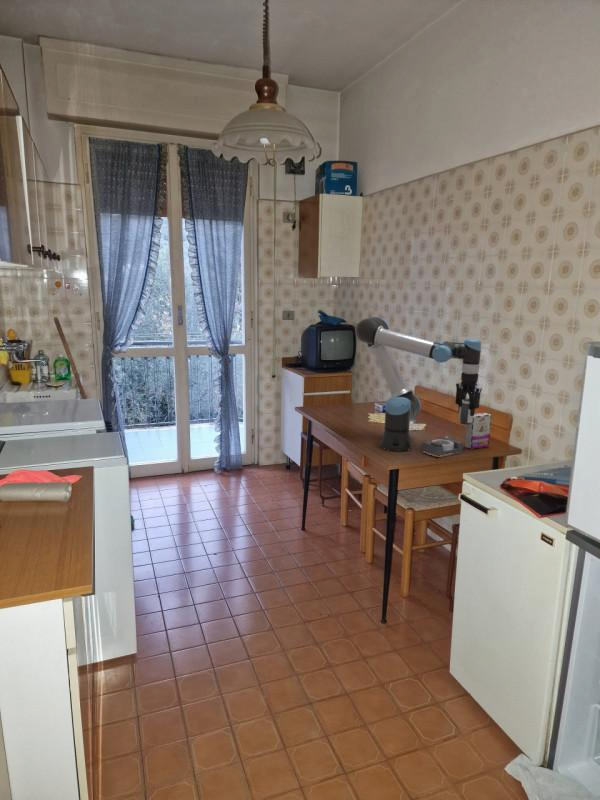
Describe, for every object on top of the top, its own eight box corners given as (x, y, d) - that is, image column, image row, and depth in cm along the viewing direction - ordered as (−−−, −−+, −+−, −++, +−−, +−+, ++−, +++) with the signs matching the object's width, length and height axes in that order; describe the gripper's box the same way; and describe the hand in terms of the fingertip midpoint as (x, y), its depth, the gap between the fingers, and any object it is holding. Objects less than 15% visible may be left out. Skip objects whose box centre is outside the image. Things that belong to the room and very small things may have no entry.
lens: (465, 425, 252) (468, 401, 249) (457, 422, 256) (460, 399, 253) (472, 423, 255) (475, 400, 252) (464, 421, 259) (466, 398, 256)
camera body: (437, 458, 244) (438, 445, 243) (421, 452, 252) (422, 440, 251) (462, 452, 253) (463, 440, 251) (445, 447, 261) (446, 435, 260)
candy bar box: (481, 444, 266) (484, 412, 262) (489, 447, 261) (492, 414, 258) (463, 446, 262) (466, 414, 258) (470, 449, 257) (473, 416, 253)
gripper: (491, 375, 244) (485, 424, 250) (460, 368, 259) (456, 415, 264) (479, 376, 241) (474, 426, 246) (449, 370, 255) (445, 417, 260)
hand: (465, 420), depth 255 cm, fingers closed on lens, 5 cm apart
